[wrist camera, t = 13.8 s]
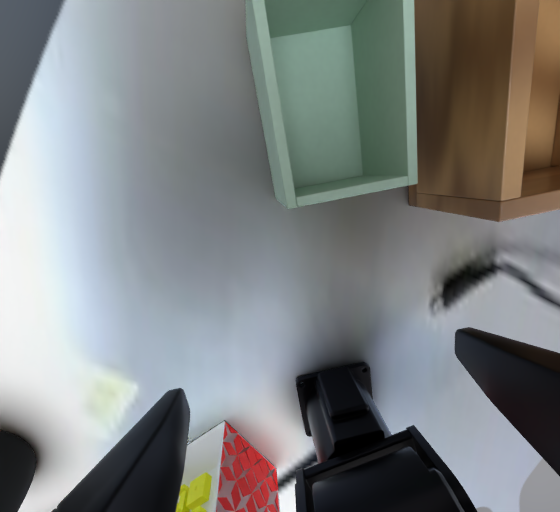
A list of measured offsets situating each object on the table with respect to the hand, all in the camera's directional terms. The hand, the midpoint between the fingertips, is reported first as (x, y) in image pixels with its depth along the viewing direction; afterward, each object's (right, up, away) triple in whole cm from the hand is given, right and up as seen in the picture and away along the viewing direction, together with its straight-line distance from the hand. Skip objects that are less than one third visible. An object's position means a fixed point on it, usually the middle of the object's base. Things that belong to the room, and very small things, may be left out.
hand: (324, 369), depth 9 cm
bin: (+1, +13, +9) cm, 15 cm away
